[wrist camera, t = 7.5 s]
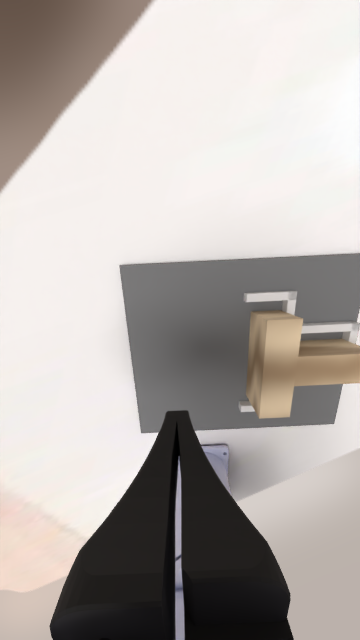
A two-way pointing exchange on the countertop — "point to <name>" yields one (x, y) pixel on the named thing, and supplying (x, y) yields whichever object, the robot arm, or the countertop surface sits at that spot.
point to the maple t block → (292, 362)
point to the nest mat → (230, 333)
